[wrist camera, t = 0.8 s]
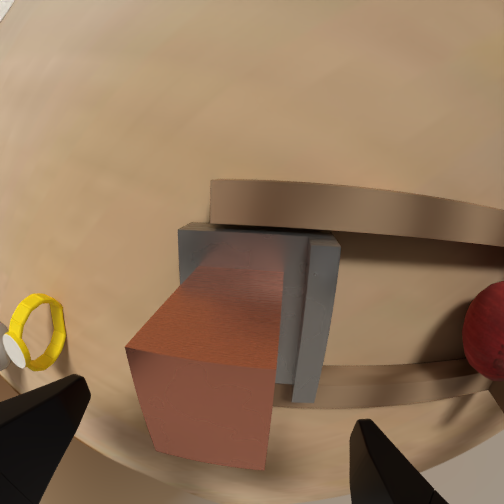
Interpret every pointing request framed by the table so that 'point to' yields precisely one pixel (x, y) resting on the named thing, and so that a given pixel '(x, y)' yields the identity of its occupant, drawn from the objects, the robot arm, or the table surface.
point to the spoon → (5, 7)
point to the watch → (14, 335)
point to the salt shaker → (3, 349)
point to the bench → (378, 222)
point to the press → (234, 338)
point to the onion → (486, 332)
